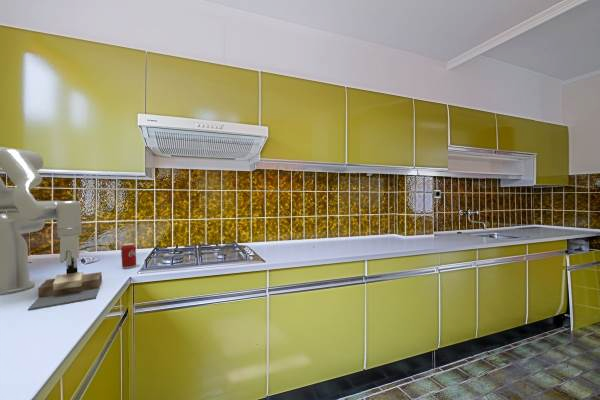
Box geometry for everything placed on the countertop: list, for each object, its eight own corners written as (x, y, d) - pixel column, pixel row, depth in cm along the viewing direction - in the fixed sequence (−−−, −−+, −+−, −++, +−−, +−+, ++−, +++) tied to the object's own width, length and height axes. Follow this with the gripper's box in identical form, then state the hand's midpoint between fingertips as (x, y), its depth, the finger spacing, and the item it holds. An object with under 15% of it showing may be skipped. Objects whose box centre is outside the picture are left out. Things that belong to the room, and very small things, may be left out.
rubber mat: (28, 310, 92) (28, 308, 92) (37, 299, 102) (37, 298, 102) (95, 298, 101) (95, 297, 101) (98, 289, 111) (98, 288, 111)
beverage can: (134, 268, 142) (133, 244, 142) (120, 269, 141) (119, 245, 140) (137, 265, 148) (136, 242, 148) (124, 266, 147) (123, 243, 146)
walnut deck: (38, 298, 103) (38, 288, 102) (47, 289, 113) (46, 279, 113) (98, 289, 112) (98, 279, 112) (101, 281, 122) (101, 272, 122)
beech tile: (53, 290, 102) (52, 284, 101) (57, 281, 108) (57, 275, 107) (81, 286, 106) (80, 280, 106) (83, 277, 112) (83, 271, 111)
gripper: (61, 231, 115) (63, 275, 116) (52, 235, 102) (55, 285, 103) (84, 229, 119) (86, 272, 120) (78, 233, 106) (81, 281, 107)
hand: (72, 278), depth 111 cm, fingers closed
